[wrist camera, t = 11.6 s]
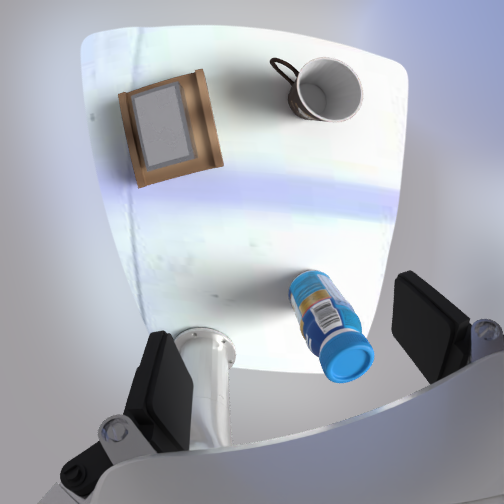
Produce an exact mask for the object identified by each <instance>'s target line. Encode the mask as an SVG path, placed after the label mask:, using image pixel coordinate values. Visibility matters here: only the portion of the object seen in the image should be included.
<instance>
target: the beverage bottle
mask: <svg viewBox="0 0 504 504" xmlns="http://www.w3.org/2000/svg"><path fill="white" fill-rule="evenodd" d="M288 296H289V300H290V303H291V305H292V307H293V309H294V312H295V315H296V317H297V320H298V322H299V325H300V330H301V333H302V335H303V337H304V339H305V340H306V343H307V346H308V348H309V349H310V351H311V352H312V353H313V354H314V355H316V356H317V357H319V360H320V363H321V366H322V369H323V371H324V373H325V375H326V377H327V378H328V379H329V380H330V381H332V382H335V383H346V382H350V381H352V380H355V379H357V378H359V377H360V376H362V375H363V374H364V373H365V372H366V371H367V370H368V369H369V368H370V366H371V365H372V363H373V361H374V351H373V348H372V346H371V345H370V344H369V342H368V340H367V339H366V338H365V336H364V335H363V334H362V327H361V322H360V320H359V318H358V316H357V315H356V314H355V312H354V310H353V308H352V306H351V305H350V303H349V302H347V301H346V300H345V298H344V297H343V296H342V294H341V293H340V292H339V290H338V289H337V288H336V286H335V285H334V284H333V282H332V281H331V279H330V278H329V276H328V275H326V274H325V273H323V272H321V271H317V270H310V271H306V272H303V273H301V274H300V275H298V276H297V277H296V278H295V279H294V280H293V281H292V283H291V285H290V287H289V291H288Z"/></svg>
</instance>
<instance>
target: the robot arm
mask: <svg viewBox="0 0 504 504" xmlns="http://www.w3.org/2000/svg"><path fill="white" fill-rule="evenodd" d="M394 287H395V288H394V304H393V318H392V334H393V336H394V337H395V338H396V340H397V341H398V342H399V344H400V345H401V346H402V348H403V349H404V350H405V351H406V353H407V354H408V355H409V357H410V358H411V359H412V361H413V362H414V363H415V365H416V366H417V367H418V368H419V370H420V371H421V373H422V374H423V375H424V377H425V378H426V379H427V381H428V382H429V383H430V385H429V386H427V387H425V388H423V389H421V390H419V391H416V392H414V393H412V394H410V395H408V396H406V397H403V398H401V399H399V400H397V401H394V402H392V403H389V404H387V405H384V406H382V407H379V408H377V409H374V410H371V411H369V412H366V413H364V414H361V415H358V416H355V417H352V418H349V419H346V420H343V421H340V422H337V423H333V424H330V425H327V426H323V427H320V428H316V429H312V430H309V431H305V432H301V433H297V434H293V435H288V436H284V437H279V438H275V439H270V440H264V441H259V442H254V443H247V444H241V445H233V440H232V432H231V419H230V397H229V376H228V375H229V374H228V370H229V369H230V368H231V367H232V366H233V364H234V362H235V359H236V351H235V347H234V345H233V343H232V341H231V340H230V339H229V338H228V337H227V336H226V335H224V334H223V333H221V332H219V331H216V330H213V329H209V328H193V329H189V330H186V331H184V332H182V333H181V334H179V335H178V336H177V337H176V339H175V340H173V338H172V336H171V334H170V333H168V334H167V333H166V332H165V331H158V332H152V333H150V335H149V338H148V341H147V344H146V347H145V351H144V354H143V357H142V360H141V363H140V366H139V367H138V368H137V370H136V373H135V376H134V379H133V383H132V386H131V389H130V393H129V396H128V399H127V403H126V406H125V410H124V413H123V415H113V416H111V417H109V418H107V419H106V420H104V421H103V422H102V424H101V425H100V427H99V430H98V437H99V440H100V441H98V442H97V443H95V444H94V445H92V446H91V447H90V448H88V449H87V450H85V451H84V452H82V453H81V454H79V455H78V456H76V457H75V458H73V459H72V460H70V461H68V462H67V463H66V464H65V465H64V466H63V468H62V470H61V473H60V479H61V483H60V484H58V483H55V484H54V486H53V487H52V488H51V489H50V490H49V491H48V492H47V493H46V495H45V496H44V497H43V498H42V499H41V500H40V501H39V503H38V504H504V335H503V331H502V328H501V327H500V325H499V324H498V323H496V322H495V321H493V320H490V319H480V320H477V321H476V322H474V323H473V325H471V324H470V323H469V321H470V318H469V317H467V316H466V315H465V314H464V313H463V312H462V311H461V310H459V309H458V308H457V307H456V306H455V305H454V304H452V303H451V302H450V301H449V300H448V299H446V298H445V297H444V296H443V295H442V294H440V293H439V292H438V291H437V290H435V289H434V288H433V287H432V286H431V285H429V284H428V283H427V282H425V281H424V280H423V279H421V278H420V277H419V276H418V275H417V274H415V273H414V272H413V271H407V272H403V273H400V274H399V275H398V277H397V278H396V279H395V285H394Z"/></svg>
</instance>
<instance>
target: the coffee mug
mask: <svg viewBox="0 0 504 504" xmlns="http://www.w3.org/2000/svg"><path fill="white" fill-rule="evenodd" d="M274 62H277V63H281V64H283V65H285V66H286V67H288V68H289V69H291V70H292V71H293V72H294V74H295V76H296V77H297V78H296V80H295V82H293V81H292V80H291V79H290V78H289V77H288V76H287V75H286V74H284V73H283V72H282V71H281V70H280V69H279V68H278V67H277V65H276V64H275V63H274ZM270 64H271V65H272V67H273V68H274V69H275V70H276V71H277V72H278V73H279V74H280V75H282V76H283V77H284V78H285V79H286V80H287V81H288V82H289V83H290V84H291V85H292V88H291V90H290V92H289V95H288V102H289V105H290V108H291V109H292V111H293V112H294V113H295V114H296V115H297V116H299V117H301V118H303V119H307V120H316V121H326V122H342V121H346V120H348V119H350V118H351V117H353V116H354V115H355V114H356V113H357V112H358V110H359V109H360V107H361V104H362V100H363V89H362V85H361V82H360V80H359V78H358V76H357V74H356V73H355V72H354V71H353V70H352V69H351V68H350V67H349V66H348V65H347V64H345V63H343V62H342V61H340V60H337V59H334V58H329V57H321V58H316V59H313V60H311V61H309V62H308V63H307V64H305V65H304V66H303V68H302V69H301V71H300V72H298V71H297V70H296V69H295V68H294V67H293V66H292V65H291V64H289V63H288V62H286V61H283V60H281V59H278V58H272V59H271V60H270Z"/></svg>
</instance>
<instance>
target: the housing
mask: <svg viewBox="0 0 504 504" xmlns="http://www.w3.org/2000/svg"><path fill="white" fill-rule="evenodd" d="M131 99H132V105H133V110H134V115H135V120H136V125H137V130H138V135H139V139H140V144H141V148H142V153H143V157H144V161H145V165H146V170H147V172H149V171H152V170H155V169H159V168H162V167H166V166H170V165H173V164H177V163H181V162H184V161H188V160H192V159H196V158H199V157H198V152H197V148H196V143H195V139H194V134H193V130H192V125H191V120H190V116H189V111H188V106H187V101H186V96H185V92H184V88H183V87H182V86H181V84H180V83H179V82H178V81H177V82H173V83H169V84H166V85H163V86H159V87H156V88H153V89H150V90H147V91H144V92H141V93H138V94H135V95H132V96H131Z"/></svg>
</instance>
